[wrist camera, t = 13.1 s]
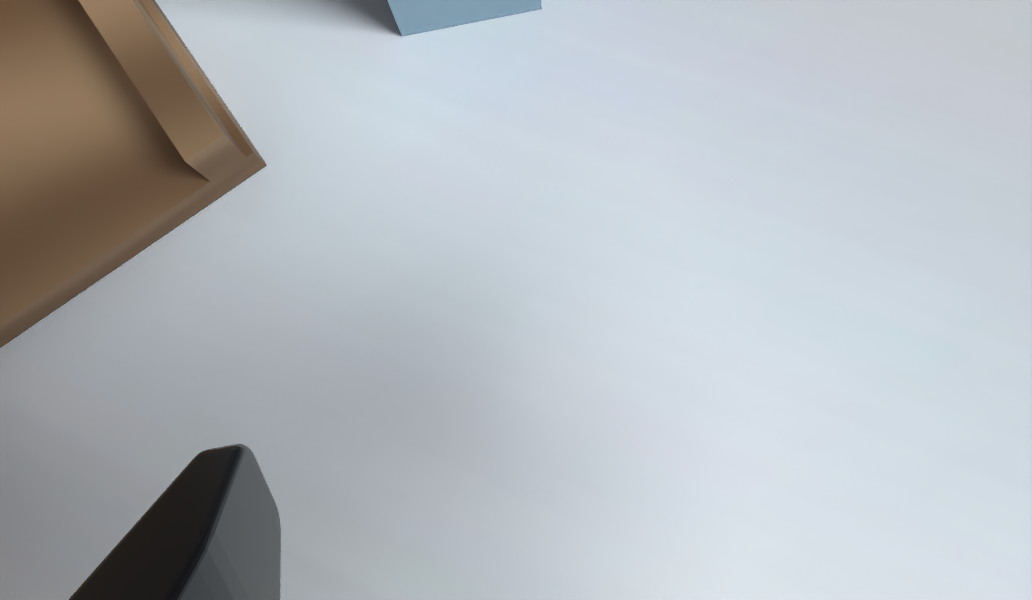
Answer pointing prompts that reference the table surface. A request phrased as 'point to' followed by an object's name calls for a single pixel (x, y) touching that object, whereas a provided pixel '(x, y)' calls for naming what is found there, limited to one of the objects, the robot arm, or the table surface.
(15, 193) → the tray
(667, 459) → the table surface
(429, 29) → the light blue block
